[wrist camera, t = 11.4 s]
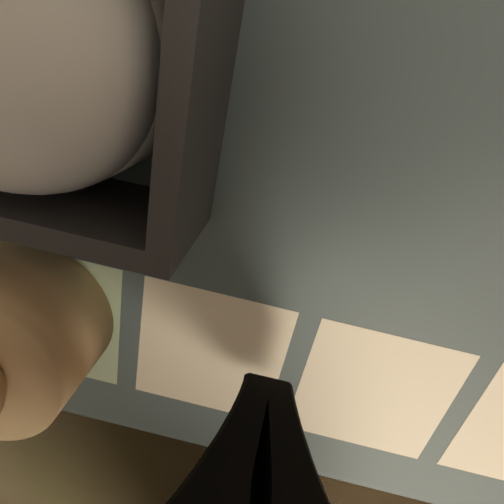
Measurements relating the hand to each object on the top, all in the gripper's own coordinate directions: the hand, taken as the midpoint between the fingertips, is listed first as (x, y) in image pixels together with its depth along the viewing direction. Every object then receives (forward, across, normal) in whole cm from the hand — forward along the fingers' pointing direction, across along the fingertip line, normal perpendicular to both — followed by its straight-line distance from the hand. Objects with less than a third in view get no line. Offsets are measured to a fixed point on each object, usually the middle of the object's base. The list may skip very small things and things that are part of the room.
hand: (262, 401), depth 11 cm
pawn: (+1, +8, 0) cm, 8 cm away
